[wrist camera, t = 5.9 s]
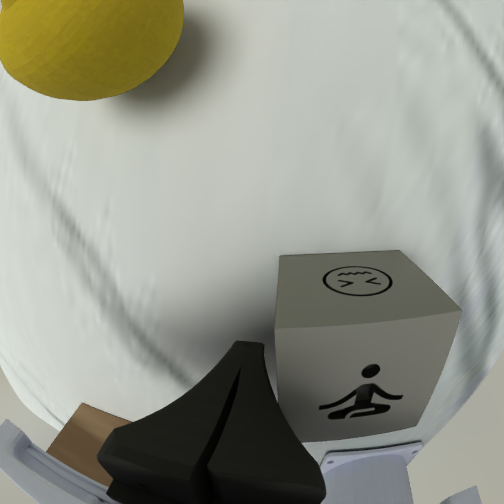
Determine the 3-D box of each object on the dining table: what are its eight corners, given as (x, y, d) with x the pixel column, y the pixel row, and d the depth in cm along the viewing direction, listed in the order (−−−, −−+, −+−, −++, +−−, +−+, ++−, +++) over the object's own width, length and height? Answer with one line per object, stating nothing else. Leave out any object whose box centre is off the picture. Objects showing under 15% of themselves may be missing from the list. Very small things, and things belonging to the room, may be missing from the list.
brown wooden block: (241, 456, 16) (224, 533, 10) (88, 413, 18) (52, 465, 11) (241, 447, 16) (222, 529, 9) (81, 402, 17) (42, 456, 11)
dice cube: (284, 355, 12) (279, 442, 8) (279, 256, 11) (274, 328, 6) (385, 348, 12) (415, 426, 7) (399, 250, 10) (462, 310, 5)
